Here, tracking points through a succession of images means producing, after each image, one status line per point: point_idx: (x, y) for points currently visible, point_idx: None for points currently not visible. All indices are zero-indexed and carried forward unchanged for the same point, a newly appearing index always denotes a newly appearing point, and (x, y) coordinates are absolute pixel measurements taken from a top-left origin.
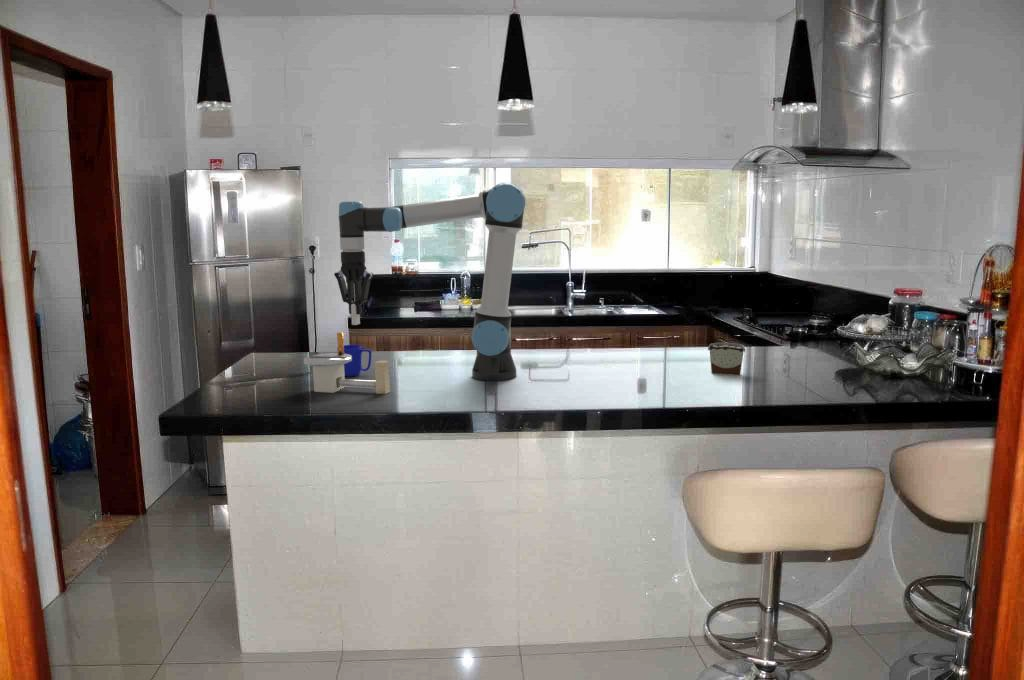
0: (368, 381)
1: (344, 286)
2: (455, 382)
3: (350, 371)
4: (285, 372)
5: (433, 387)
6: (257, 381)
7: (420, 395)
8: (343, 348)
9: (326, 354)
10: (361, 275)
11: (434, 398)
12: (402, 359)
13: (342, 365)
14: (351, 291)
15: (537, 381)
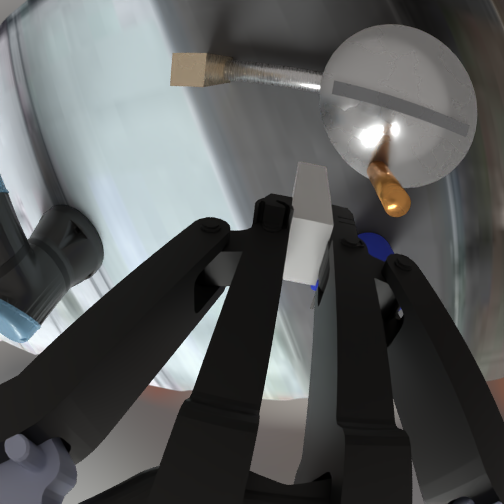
0: (252, 67)
1: (423, 406)
2: (104, 188)
3: (363, 236)
4: (495, 272)
5: (125, 139)
6: None
7: (125, 66)
8: (371, 175)
9: (425, 164)
10: (87, 500)
11: (93, 53)
12: (285, 361)
13: None
14: (329, 331)
15: (17, 210)
